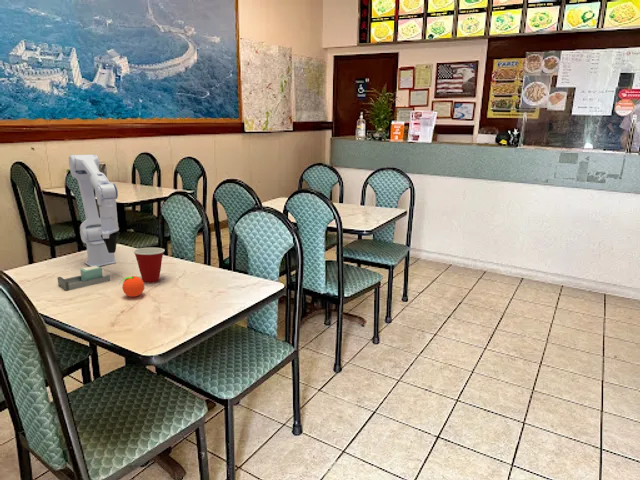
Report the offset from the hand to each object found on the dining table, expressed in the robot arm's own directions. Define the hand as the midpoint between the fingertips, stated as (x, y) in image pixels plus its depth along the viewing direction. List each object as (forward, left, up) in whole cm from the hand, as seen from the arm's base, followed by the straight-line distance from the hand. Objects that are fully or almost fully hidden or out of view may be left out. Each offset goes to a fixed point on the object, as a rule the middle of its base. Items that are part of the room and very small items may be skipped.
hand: (112, 252), depth 168 cm
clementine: (+4, +24, -10) cm, 26 cm away
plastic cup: (-8, +14, -10) cm, 18 cm away
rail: (+10, 0, -9) cm, 14 cm away
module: (+8, 0, -10) cm, 12 cm away
